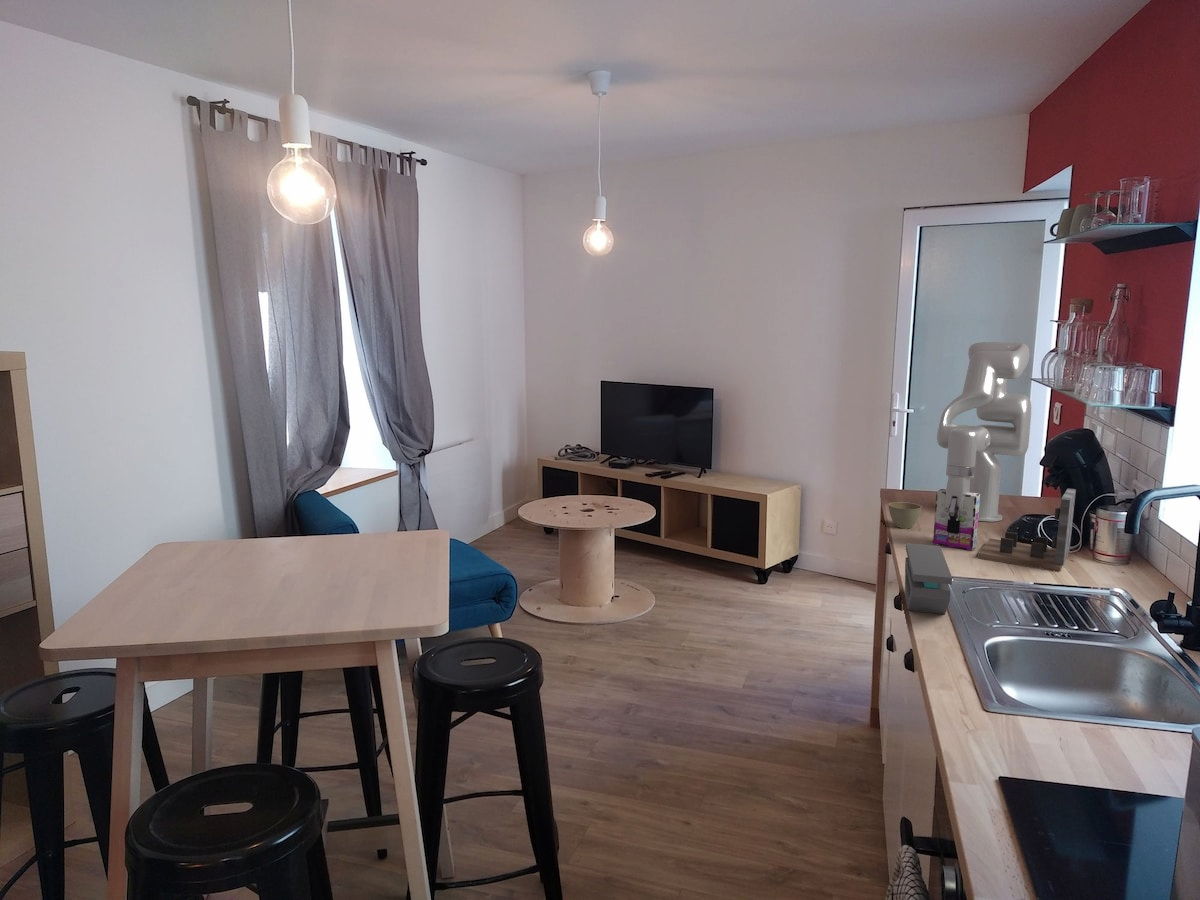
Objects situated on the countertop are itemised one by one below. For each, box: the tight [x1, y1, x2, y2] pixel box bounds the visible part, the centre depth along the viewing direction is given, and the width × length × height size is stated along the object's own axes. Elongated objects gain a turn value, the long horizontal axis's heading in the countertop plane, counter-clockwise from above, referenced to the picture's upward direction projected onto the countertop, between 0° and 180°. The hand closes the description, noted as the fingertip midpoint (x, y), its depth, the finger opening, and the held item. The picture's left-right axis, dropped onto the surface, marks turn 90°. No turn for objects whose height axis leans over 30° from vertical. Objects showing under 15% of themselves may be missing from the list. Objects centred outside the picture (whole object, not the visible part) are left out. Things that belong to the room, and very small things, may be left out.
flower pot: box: [888, 501, 923, 529], centre depth 247 cm, size 10×10×7 cm
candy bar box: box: [932, 488, 980, 551], centre depth 225 cm, size 11×5×16 cm, turn 51°
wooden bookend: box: [977, 487, 1077, 572], centre depth 214 cm, size 18×20×20 cm
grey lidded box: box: [904, 543, 953, 615], centre depth 179 cm, size 25×8×11 cm, turn 162°
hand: (955, 530), depth 226 cm, fingers open, 6 cm apart
